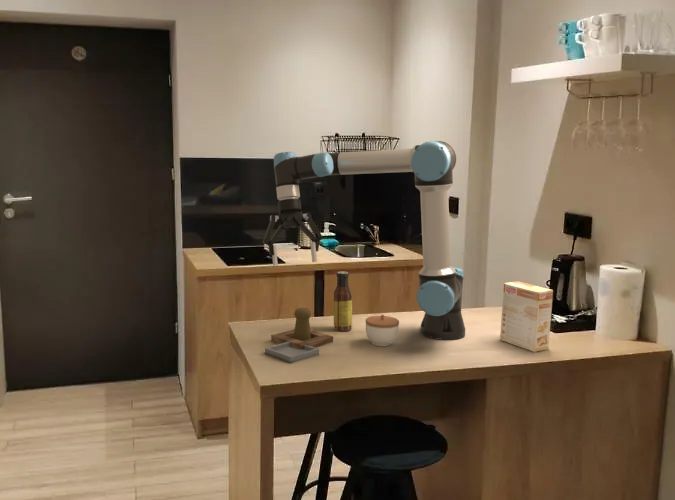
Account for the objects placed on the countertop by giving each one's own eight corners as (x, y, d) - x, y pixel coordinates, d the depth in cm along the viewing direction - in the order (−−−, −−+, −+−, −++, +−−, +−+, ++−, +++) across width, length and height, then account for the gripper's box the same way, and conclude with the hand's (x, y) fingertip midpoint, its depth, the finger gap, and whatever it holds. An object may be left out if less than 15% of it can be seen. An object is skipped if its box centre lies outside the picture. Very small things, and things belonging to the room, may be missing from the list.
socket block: (333, 342, 227) (333, 336, 227) (301, 351, 217) (301, 345, 216) (302, 332, 236) (302, 327, 236) (271, 341, 226) (271, 335, 226)
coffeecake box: (549, 349, 226) (554, 289, 223) (533, 352, 222) (538, 292, 219) (514, 337, 239) (518, 280, 235) (499, 339, 235) (503, 282, 231)
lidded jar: (357, 342, 227) (358, 314, 225) (379, 336, 235) (380, 308, 233) (383, 350, 220) (384, 321, 218) (404, 343, 228) (406, 315, 226)
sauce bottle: (355, 329, 242) (357, 272, 239) (345, 333, 237) (347, 275, 234) (339, 325, 246) (340, 269, 242) (329, 329, 241) (330, 272, 237)
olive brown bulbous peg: (309, 345, 223) (309, 311, 221) (290, 343, 224) (291, 310, 222) (313, 339, 229) (314, 306, 227) (295, 338, 230) (296, 305, 228)
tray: (319, 354, 214) (319, 349, 214) (291, 363, 206) (291, 357, 205) (292, 345, 222) (292, 340, 222) (264, 353, 214) (264, 348, 213)
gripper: (320, 199, 242) (326, 261, 240) (249, 203, 232) (255, 267, 231) (328, 196, 235) (334, 259, 234) (255, 199, 225) (261, 266, 224)
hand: (295, 263), depth 232 cm, fingers open, 13 cm apart
